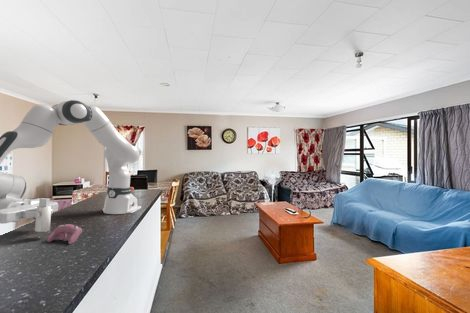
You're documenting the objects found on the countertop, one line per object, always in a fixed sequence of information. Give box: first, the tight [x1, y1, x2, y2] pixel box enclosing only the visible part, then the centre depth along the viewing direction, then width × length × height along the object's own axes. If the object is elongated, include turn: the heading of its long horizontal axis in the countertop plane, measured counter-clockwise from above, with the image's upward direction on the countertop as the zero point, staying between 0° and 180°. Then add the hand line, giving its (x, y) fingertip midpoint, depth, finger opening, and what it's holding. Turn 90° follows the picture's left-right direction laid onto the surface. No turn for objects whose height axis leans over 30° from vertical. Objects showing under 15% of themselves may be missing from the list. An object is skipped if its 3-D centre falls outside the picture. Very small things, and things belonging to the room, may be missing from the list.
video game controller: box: [46, 223, 83, 245], centre depth 83 cm, size 10×5×7 cm, turn 85°
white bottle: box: [34, 197, 52, 233], centre depth 84 cm, size 3×5×12 cm, turn 82°
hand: (45, 213), depth 84 cm, fingers closed on white bottle, 3 cm apart
